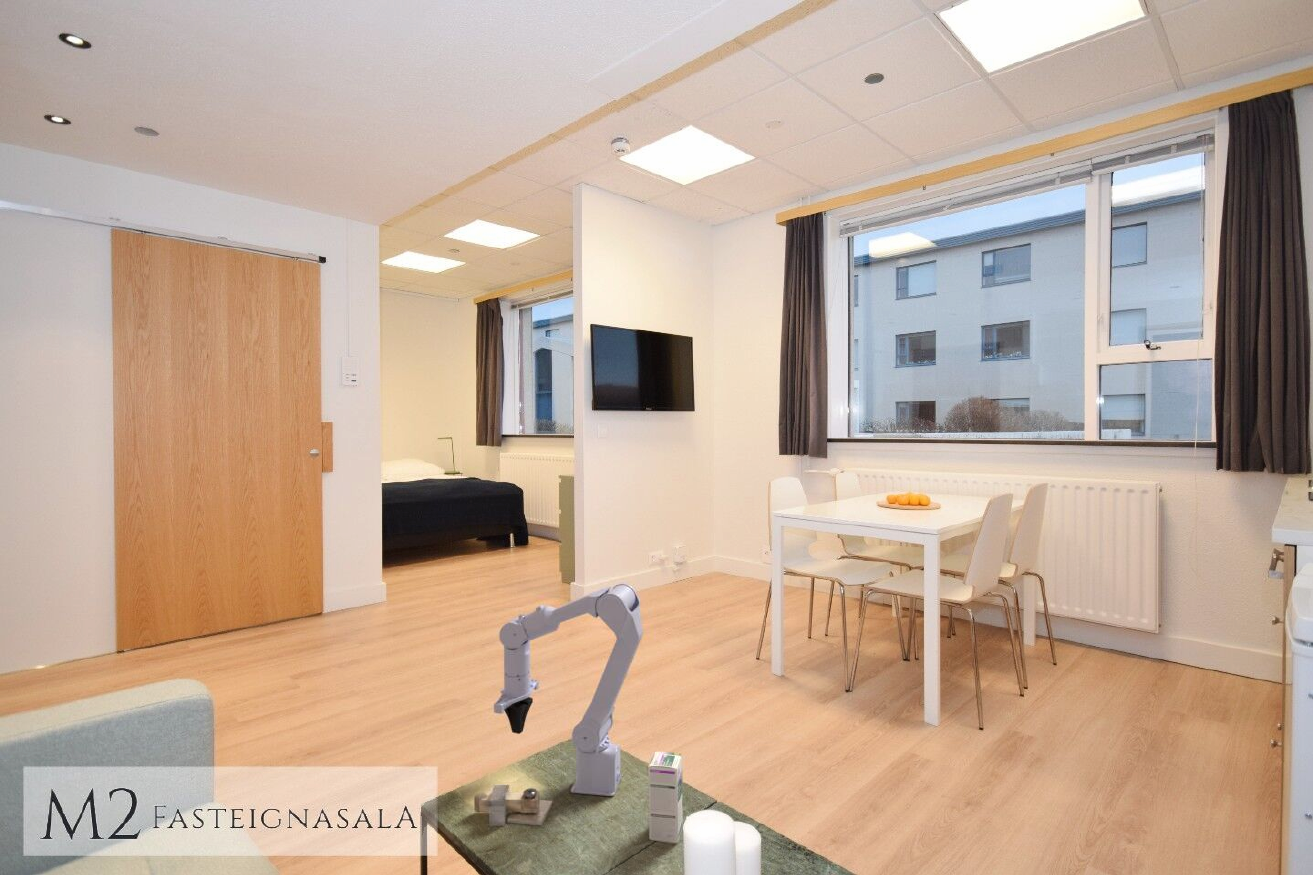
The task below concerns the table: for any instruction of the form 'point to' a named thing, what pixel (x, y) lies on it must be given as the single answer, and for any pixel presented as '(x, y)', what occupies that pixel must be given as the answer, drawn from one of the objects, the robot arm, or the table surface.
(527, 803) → the link
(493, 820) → the block
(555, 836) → the table surface
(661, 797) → the syrup box
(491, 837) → the table surface
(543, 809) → the pintle base
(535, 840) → the table surface
